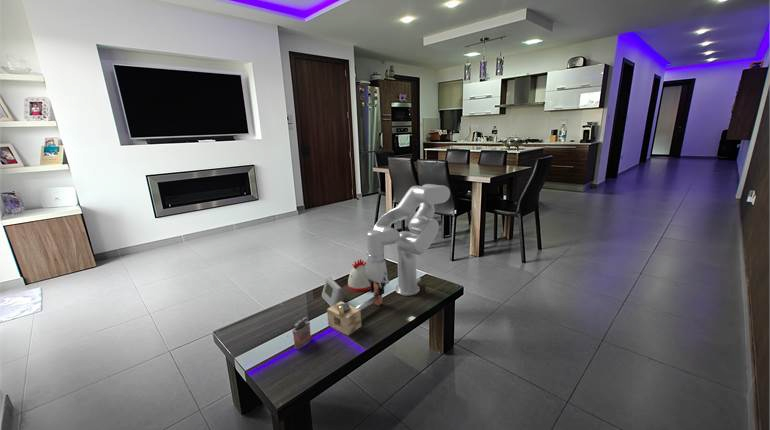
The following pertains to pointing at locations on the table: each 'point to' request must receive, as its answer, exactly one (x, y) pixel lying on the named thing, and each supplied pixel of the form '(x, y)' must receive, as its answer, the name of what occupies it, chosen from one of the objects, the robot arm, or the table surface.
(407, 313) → the table surface
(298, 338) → the lighter
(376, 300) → the copper head hammer
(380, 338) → the table surface
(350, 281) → the kitchen timer
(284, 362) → the table surface
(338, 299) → the digital clock
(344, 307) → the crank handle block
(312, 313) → the table surface
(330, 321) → the beige block
